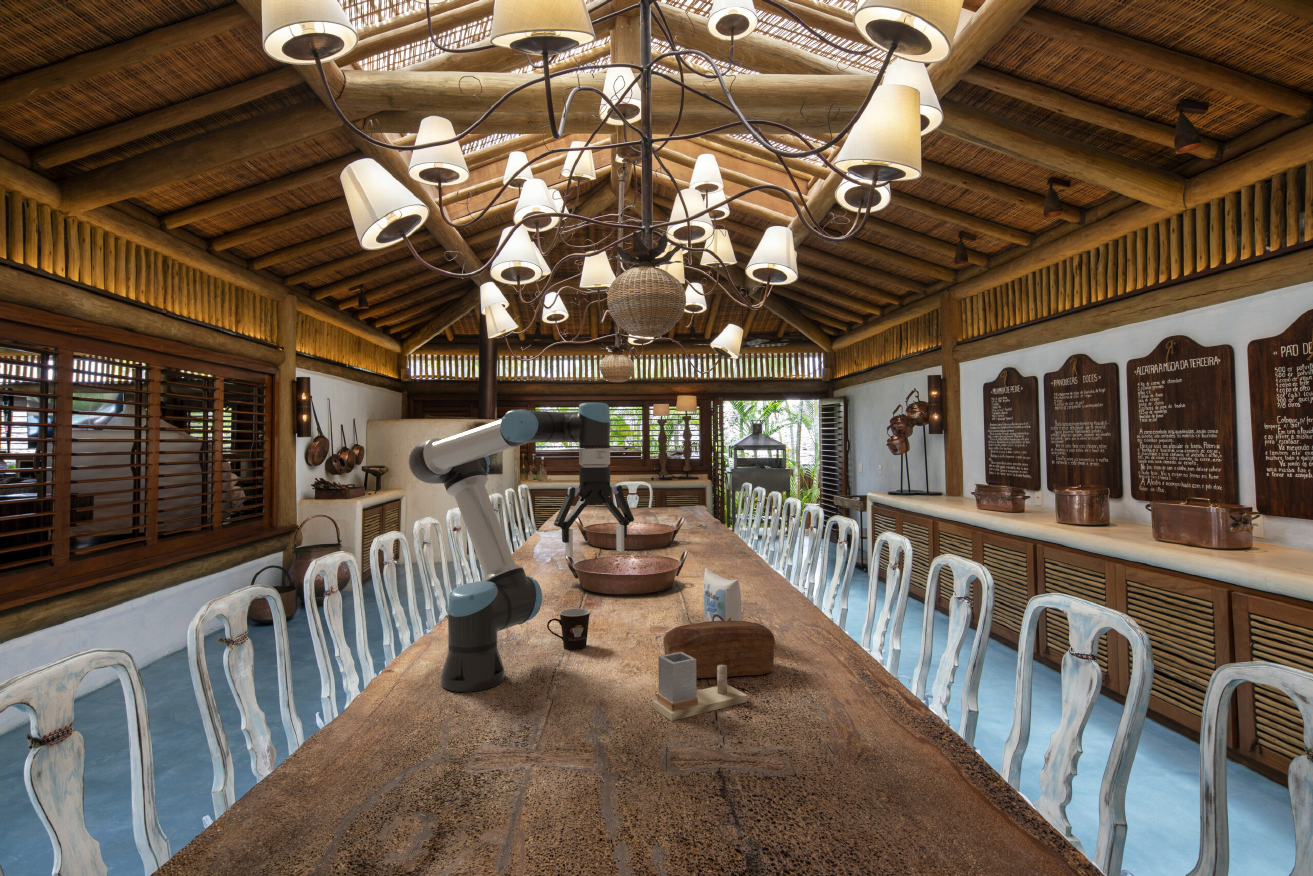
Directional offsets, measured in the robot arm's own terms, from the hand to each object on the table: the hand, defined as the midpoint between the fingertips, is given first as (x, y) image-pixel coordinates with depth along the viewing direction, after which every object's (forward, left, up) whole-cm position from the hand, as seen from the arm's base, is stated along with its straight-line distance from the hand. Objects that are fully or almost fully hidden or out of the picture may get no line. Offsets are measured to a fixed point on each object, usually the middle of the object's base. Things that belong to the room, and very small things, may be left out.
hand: (595, 553), depth 158 cm
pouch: (+47, +13, -32) cm, 58 cm away
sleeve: (+9, -23, -30) cm, 39 cm away
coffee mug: (+6, +31, -32) cm, 45 cm away
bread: (+31, -8, -32) cm, 45 cm away
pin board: (+15, -23, -32) cm, 42 cm away
